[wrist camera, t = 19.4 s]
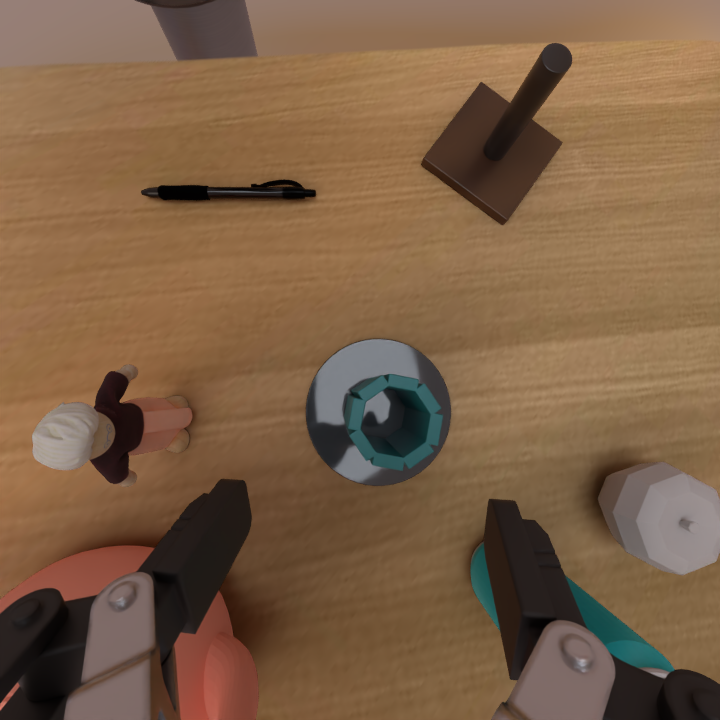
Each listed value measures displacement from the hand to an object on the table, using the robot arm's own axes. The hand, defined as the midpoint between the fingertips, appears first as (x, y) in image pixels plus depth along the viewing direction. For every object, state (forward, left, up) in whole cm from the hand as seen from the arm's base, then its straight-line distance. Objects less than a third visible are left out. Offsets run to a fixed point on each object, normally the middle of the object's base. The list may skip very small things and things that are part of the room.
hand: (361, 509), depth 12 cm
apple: (+18, +16, -18) cm, 31 cm away
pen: (-22, +3, -18) cm, 29 cm away
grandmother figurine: (-9, -11, -18) cm, 23 cm away
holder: (-13, +24, -18) cm, 33 cm away
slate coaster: (0, +3, -18) cm, 19 cm away
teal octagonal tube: (0, +3, -18) cm, 18 cm away
